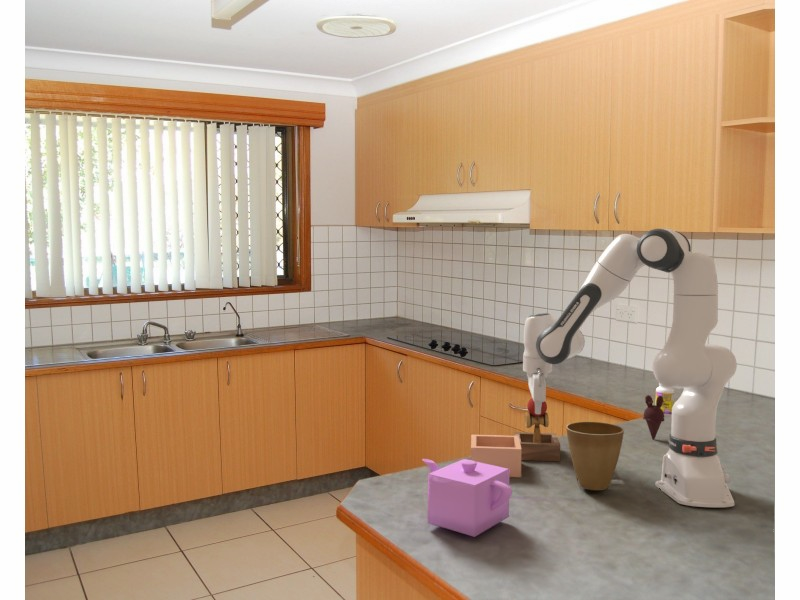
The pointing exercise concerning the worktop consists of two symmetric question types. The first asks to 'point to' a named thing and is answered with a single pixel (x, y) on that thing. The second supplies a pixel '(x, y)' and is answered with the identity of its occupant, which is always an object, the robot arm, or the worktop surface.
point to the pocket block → (539, 447)
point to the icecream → (653, 414)
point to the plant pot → (594, 452)
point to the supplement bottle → (665, 397)
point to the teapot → (467, 496)
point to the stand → (498, 452)
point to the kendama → (536, 419)
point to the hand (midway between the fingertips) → (536, 410)
